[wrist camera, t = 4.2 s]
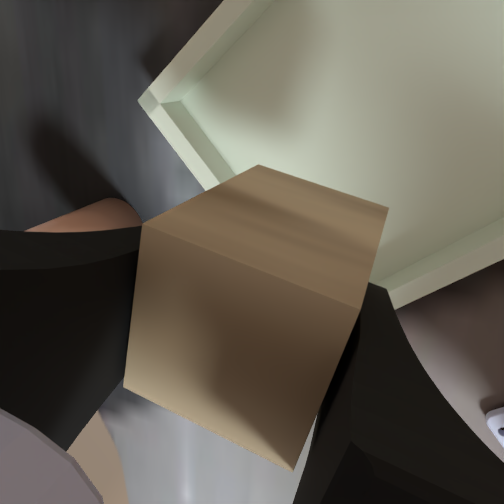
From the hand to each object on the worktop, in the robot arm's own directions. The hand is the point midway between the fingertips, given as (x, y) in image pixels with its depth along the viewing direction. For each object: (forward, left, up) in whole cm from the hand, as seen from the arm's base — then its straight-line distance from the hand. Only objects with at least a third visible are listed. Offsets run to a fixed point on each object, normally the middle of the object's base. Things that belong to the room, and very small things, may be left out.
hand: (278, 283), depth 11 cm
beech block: (0, 0, -2) cm, 2 cm away
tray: (+2, -3, -9) cm, 10 cm away
